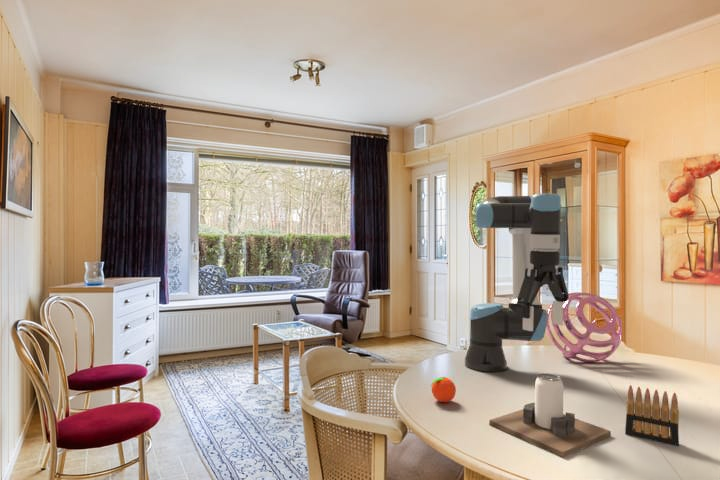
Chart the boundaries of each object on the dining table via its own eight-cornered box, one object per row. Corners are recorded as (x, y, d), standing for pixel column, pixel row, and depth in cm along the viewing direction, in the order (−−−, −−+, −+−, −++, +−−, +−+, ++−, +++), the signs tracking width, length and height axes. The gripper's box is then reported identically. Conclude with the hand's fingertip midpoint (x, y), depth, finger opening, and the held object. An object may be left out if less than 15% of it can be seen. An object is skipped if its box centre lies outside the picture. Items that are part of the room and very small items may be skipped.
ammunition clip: (625, 434, 108) (625, 385, 108) (625, 431, 109) (626, 383, 109) (679, 446, 102) (679, 394, 102) (678, 443, 103) (679, 392, 103)
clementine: (436, 407, 123) (437, 382, 123) (423, 399, 129) (424, 375, 129) (460, 404, 126) (461, 379, 126) (446, 396, 132) (446, 372, 132)
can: (550, 432, 105) (551, 382, 105) (528, 422, 111) (529, 374, 111) (568, 427, 108) (569, 378, 108) (546, 418, 114) (547, 371, 114)
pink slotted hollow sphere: (537, 302, 199) (562, 272, 177) (601, 319, 195) (635, 291, 173) (532, 360, 184) (559, 335, 161) (601, 380, 180) (639, 358, 158)
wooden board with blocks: (489, 424, 112) (489, 406, 112) (537, 408, 123) (537, 392, 123) (563, 457, 96) (563, 435, 96) (610, 435, 107) (610, 416, 107)
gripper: (528, 252, 111) (526, 335, 112) (583, 249, 125) (581, 324, 125) (503, 250, 117) (502, 329, 118) (558, 248, 131) (556, 319, 132)
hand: (543, 327), depth 122 cm, fingers open, 13 cm apart
